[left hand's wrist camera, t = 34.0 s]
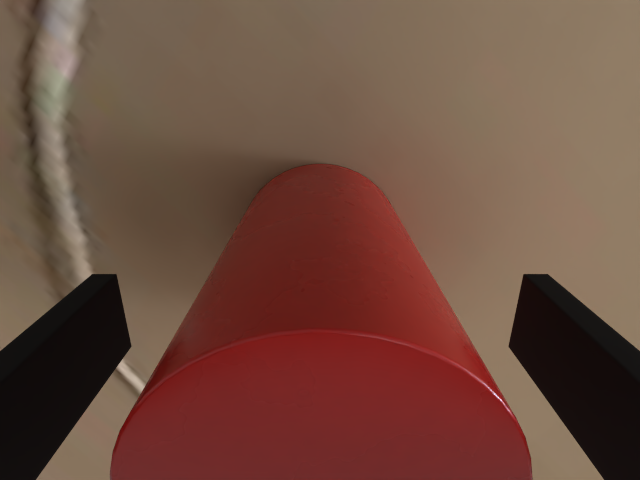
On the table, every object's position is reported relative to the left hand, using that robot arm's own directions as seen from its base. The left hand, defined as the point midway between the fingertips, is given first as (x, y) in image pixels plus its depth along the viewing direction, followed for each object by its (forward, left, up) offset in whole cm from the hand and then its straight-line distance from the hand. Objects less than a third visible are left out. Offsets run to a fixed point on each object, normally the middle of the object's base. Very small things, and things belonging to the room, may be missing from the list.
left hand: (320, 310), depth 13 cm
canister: (0, 0, -6) cm, 6 cm away
